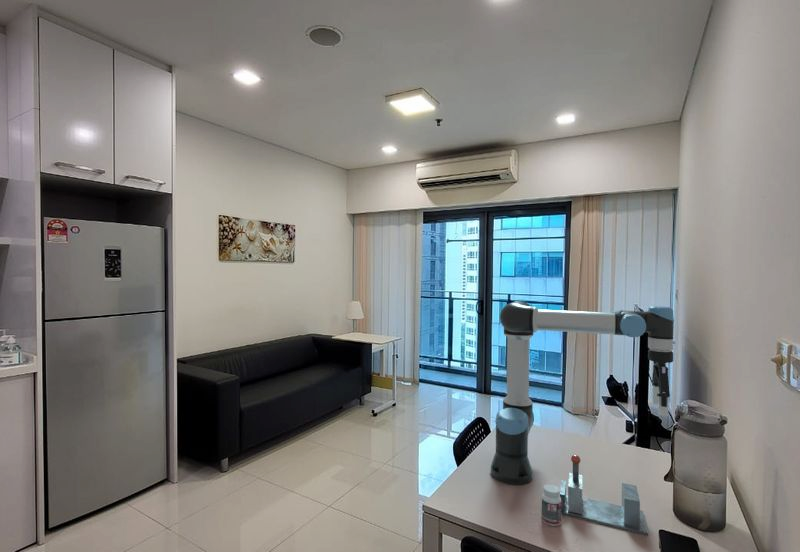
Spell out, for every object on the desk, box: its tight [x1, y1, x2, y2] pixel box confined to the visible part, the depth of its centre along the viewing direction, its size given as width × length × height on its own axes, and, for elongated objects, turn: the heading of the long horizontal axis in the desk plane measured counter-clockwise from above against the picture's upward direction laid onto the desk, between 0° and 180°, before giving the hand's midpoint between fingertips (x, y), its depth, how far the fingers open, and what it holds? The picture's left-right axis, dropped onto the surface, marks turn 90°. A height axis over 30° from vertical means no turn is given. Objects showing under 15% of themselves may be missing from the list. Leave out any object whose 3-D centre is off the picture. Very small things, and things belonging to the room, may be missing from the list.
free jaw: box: [567, 454, 583, 514], centre depth 130 cm, size 4×10×16 cm, turn 155°
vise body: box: [559, 479, 649, 536], centre depth 127 cm, size 24×12×9 cm, turn 65°
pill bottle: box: [540, 484, 562, 527], centre depth 123 cm, size 6×6×10 cm
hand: (659, 409), depth 143 cm, fingers open, 13 cm apart
